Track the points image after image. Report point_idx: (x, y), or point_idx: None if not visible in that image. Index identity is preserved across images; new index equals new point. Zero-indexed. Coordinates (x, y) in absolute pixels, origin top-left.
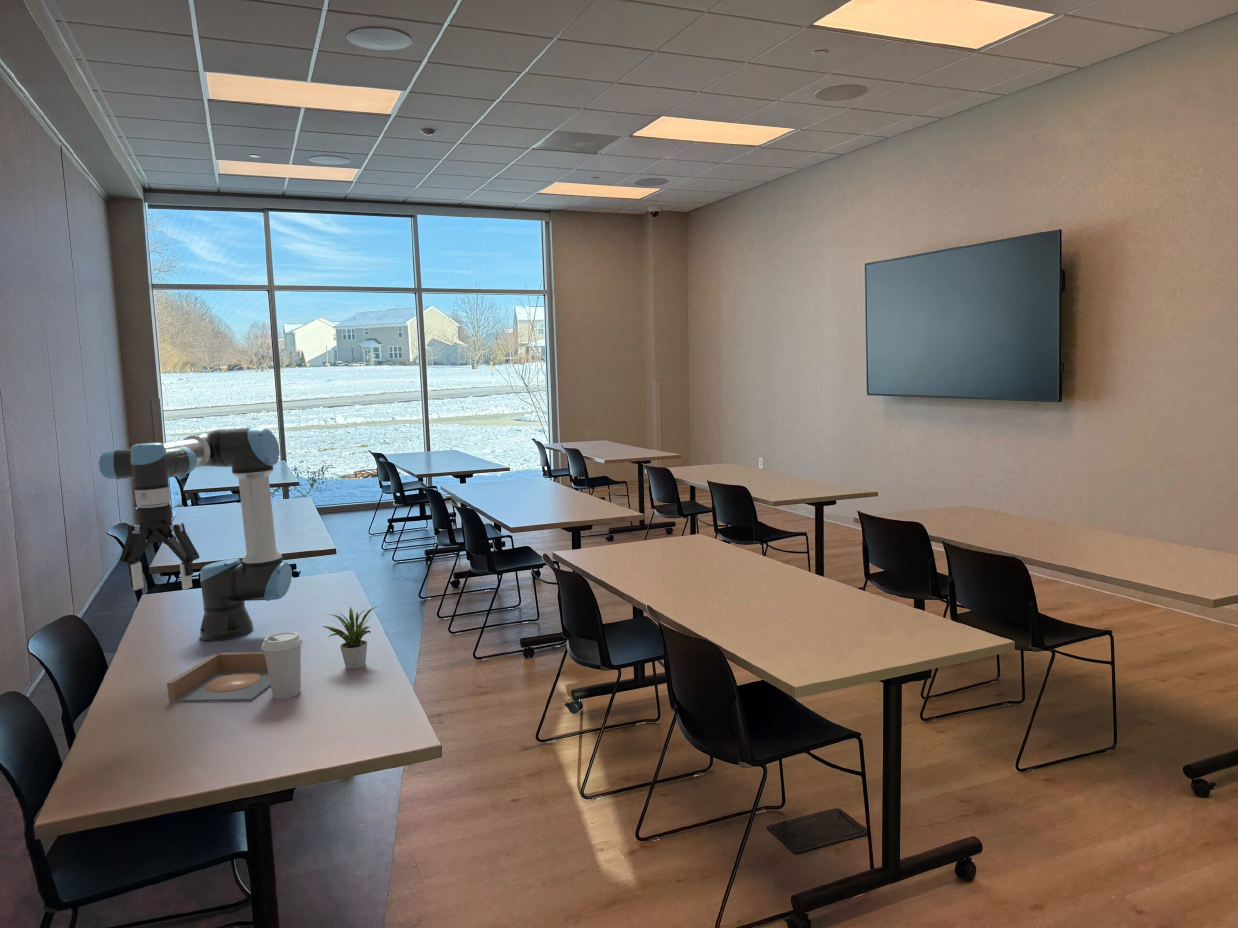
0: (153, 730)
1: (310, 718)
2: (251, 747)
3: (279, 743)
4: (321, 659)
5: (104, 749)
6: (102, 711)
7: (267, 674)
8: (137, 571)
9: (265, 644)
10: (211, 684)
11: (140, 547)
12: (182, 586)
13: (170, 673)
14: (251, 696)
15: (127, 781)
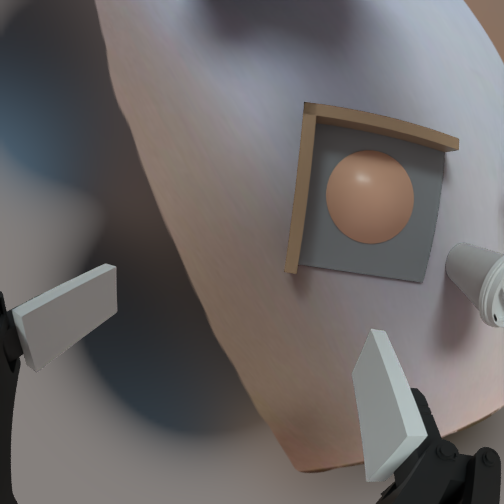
0: (312, 358)
1: (483, 342)
2: (432, 400)
3: (454, 393)
4: (466, 108)
5: (275, 393)
6: (195, 279)
7: (416, 168)
8: (61, 329)
9: (489, 319)
10: (335, 203)
11: (7, 466)
12: (355, 383)
13: (214, 117)
14: (420, 273)
15: (334, 443)
